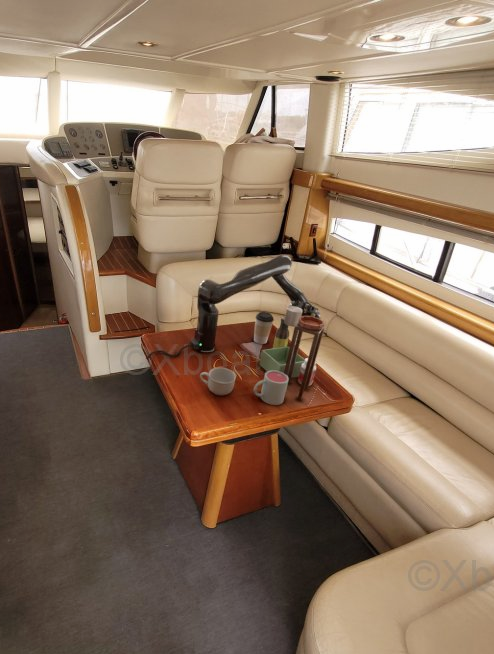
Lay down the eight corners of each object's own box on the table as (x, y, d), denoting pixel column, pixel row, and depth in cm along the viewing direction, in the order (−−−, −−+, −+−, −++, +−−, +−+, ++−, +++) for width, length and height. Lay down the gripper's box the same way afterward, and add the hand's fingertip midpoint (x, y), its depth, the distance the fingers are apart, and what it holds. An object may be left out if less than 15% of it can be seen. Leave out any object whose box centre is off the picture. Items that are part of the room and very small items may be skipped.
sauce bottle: (286, 359, 183) (295, 321, 173) (274, 360, 181) (282, 321, 172) (281, 353, 188) (289, 315, 178) (269, 353, 187) (277, 315, 177)
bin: (276, 380, 166) (280, 365, 162) (259, 364, 177) (261, 350, 173) (303, 375, 171) (307, 361, 167) (284, 360, 182) (287, 346, 178)
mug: (275, 390, 159) (280, 369, 154) (288, 403, 152) (293, 381, 147) (246, 394, 154) (250, 373, 150) (257, 408, 147) (261, 386, 142)
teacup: (235, 387, 158) (238, 371, 154) (229, 401, 149) (232, 384, 145) (203, 379, 161) (205, 363, 157) (195, 393, 152) (197, 375, 148)
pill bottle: (306, 378, 170) (312, 356, 164) (314, 385, 165) (321, 363, 159) (294, 379, 167) (300, 357, 162) (302, 387, 163) (308, 364, 157)
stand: (286, 381, 165) (303, 313, 150) (307, 389, 162) (327, 319, 146) (278, 393, 157) (295, 321, 142) (300, 401, 154) (320, 328, 138)
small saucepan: (294, 311, 175) (297, 297, 171) (308, 314, 172) (311, 301, 169) (281, 323, 161) (284, 309, 158) (296, 328, 159) (300, 313, 156)
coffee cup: (268, 337, 202) (273, 311, 195) (269, 345, 194) (275, 318, 187) (251, 335, 202) (256, 309, 195) (251, 343, 195) (256, 316, 187)
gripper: (294, 300, 185) (288, 291, 169) (322, 307, 179) (319, 299, 163) (289, 315, 185) (282, 307, 169) (317, 323, 180) (313, 316, 164)
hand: (300, 303), depth 166 cm, fingers closed on small saucepan
